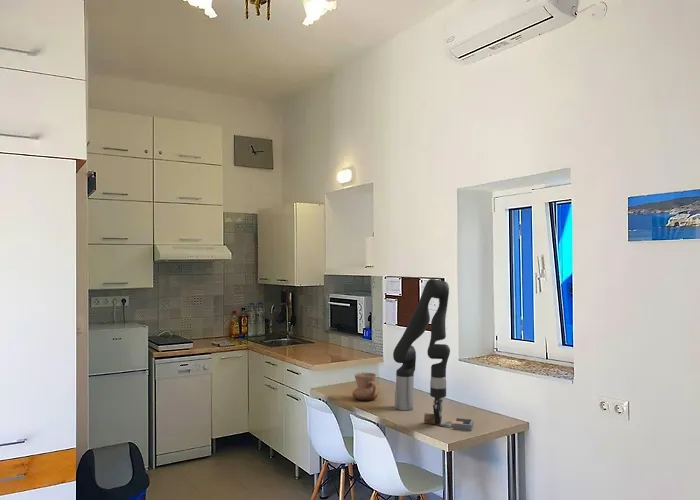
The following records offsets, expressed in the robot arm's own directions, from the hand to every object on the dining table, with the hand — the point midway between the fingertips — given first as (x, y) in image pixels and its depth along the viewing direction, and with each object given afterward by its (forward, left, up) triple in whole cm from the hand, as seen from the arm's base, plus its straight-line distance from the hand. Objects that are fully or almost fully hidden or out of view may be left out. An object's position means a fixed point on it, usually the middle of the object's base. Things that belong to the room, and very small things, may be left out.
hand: (437, 422), depth 260 cm
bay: (+12, 0, -1) cm, 12 cm away
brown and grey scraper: (0, 0, 0) cm, 0 cm away
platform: (-49, +57, -1) cm, 75 cm away
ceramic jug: (-46, +36, -1) cm, 59 cm away
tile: (+9, 0, -1) cm, 9 cm away
